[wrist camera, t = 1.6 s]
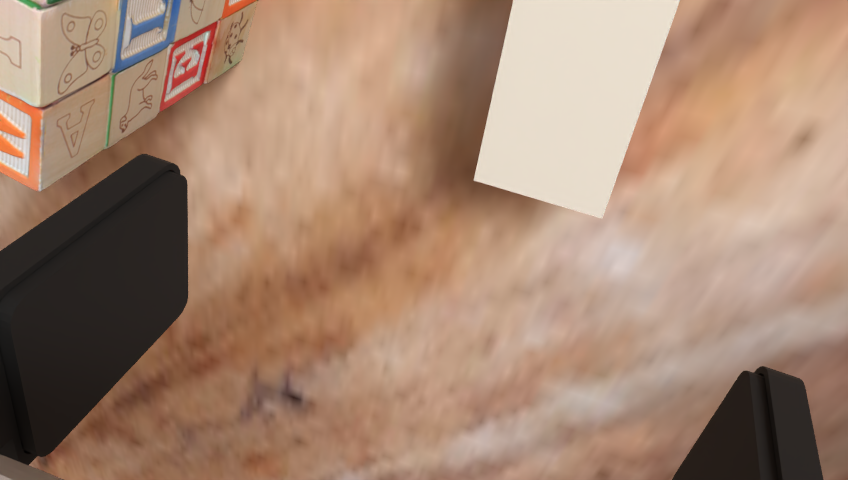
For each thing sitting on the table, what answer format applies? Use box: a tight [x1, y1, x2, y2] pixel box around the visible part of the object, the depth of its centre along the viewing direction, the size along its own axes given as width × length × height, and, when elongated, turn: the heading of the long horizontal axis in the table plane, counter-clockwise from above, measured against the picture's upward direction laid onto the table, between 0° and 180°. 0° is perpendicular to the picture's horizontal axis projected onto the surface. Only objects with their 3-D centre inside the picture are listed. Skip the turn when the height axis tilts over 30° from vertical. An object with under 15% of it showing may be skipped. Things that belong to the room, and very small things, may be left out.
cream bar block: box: [474, 0, 680, 219], centre depth 24 cm, size 4×9×5 cm, turn 169°
